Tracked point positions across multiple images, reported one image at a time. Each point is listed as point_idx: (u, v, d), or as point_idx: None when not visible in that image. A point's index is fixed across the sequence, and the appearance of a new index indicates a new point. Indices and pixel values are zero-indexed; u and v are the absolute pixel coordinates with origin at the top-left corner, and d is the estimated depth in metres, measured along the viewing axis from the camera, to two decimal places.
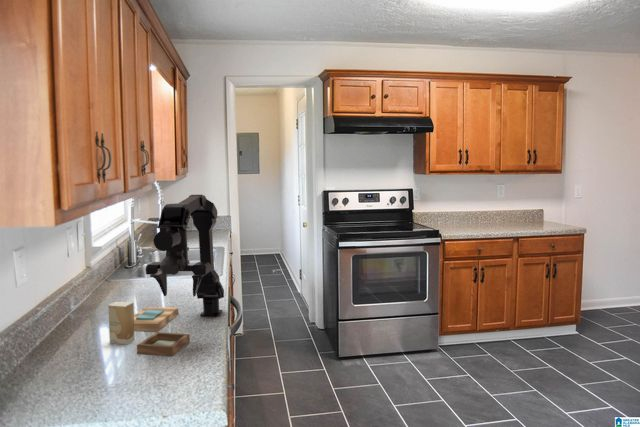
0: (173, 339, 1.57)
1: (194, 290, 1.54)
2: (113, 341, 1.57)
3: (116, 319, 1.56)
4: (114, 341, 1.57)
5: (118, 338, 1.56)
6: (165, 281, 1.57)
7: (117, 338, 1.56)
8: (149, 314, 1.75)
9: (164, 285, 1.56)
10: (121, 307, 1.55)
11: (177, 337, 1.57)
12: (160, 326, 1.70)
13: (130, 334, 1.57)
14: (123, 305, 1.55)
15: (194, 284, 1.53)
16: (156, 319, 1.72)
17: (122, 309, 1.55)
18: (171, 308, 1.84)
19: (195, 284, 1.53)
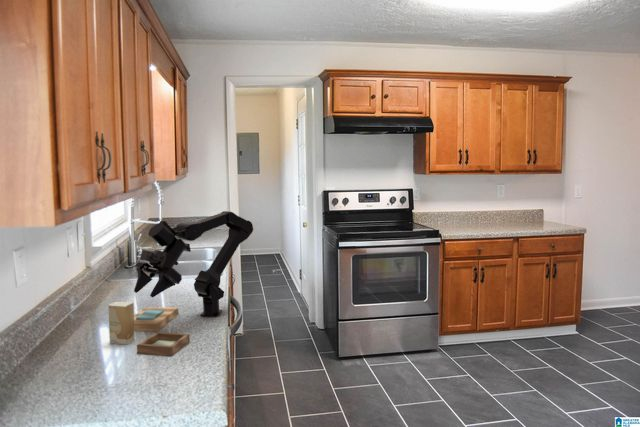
0: (173, 339, 1.57)
1: (153, 289, 1.60)
2: (113, 341, 1.57)
3: (116, 319, 1.56)
4: (114, 341, 1.57)
5: (118, 338, 1.56)
6: (144, 282, 1.69)
7: (117, 338, 1.56)
8: (149, 314, 1.75)
9: (140, 283, 1.67)
10: (121, 307, 1.55)
11: (177, 337, 1.57)
12: (160, 326, 1.70)
13: (130, 334, 1.57)
14: (123, 305, 1.55)
15: (157, 284, 1.61)
16: (156, 319, 1.72)
17: (122, 309, 1.55)
18: (171, 308, 1.84)
19: (157, 284, 1.61)
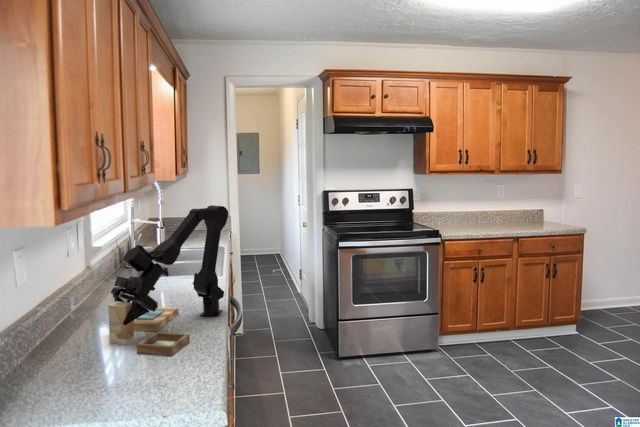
0: (173, 339, 1.57)
1: (126, 317, 1.54)
2: (113, 341, 1.57)
3: (116, 319, 1.56)
4: (114, 341, 1.57)
5: (118, 338, 1.56)
6: None
7: (117, 338, 1.56)
8: (149, 314, 1.75)
9: None
10: (121, 307, 1.55)
11: (177, 337, 1.57)
12: (160, 326, 1.70)
13: (130, 334, 1.57)
14: (123, 305, 1.55)
15: (130, 311, 1.55)
16: (156, 319, 1.72)
17: (122, 309, 1.55)
18: (171, 308, 1.84)
19: (130, 311, 1.55)
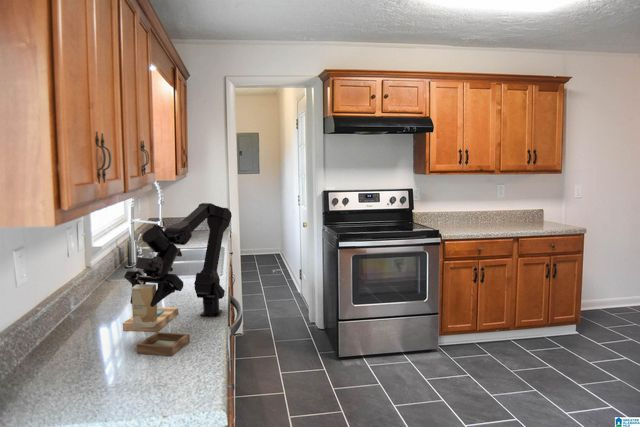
0: (173, 339, 1.57)
1: (153, 298, 1.51)
2: (137, 325, 1.51)
3: (141, 301, 1.51)
4: (139, 325, 1.51)
5: (143, 322, 1.51)
6: None
7: (142, 321, 1.51)
8: None
9: None
10: (147, 288, 1.50)
11: (177, 337, 1.57)
12: (160, 326, 1.70)
13: (155, 316, 1.53)
14: (148, 287, 1.51)
15: (156, 292, 1.51)
16: None
17: (148, 291, 1.50)
18: (171, 308, 1.84)
19: (157, 292, 1.51)
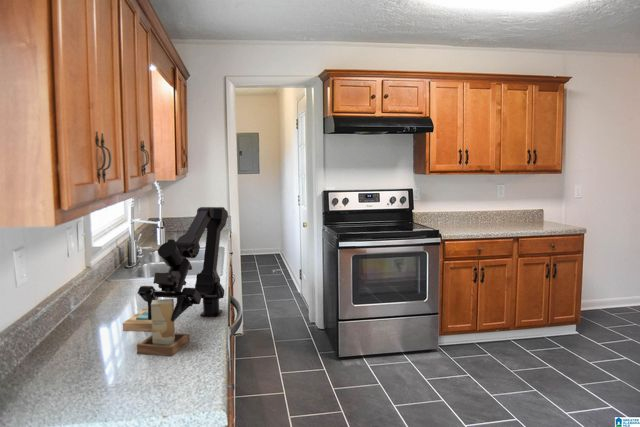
0: None
1: (174, 313, 1.50)
2: (157, 341, 1.50)
3: (161, 317, 1.50)
4: (158, 341, 1.51)
5: (163, 337, 1.51)
6: None
7: (162, 337, 1.51)
8: None
9: None
10: (167, 303, 1.50)
11: (177, 337, 1.57)
12: None
13: None
14: (168, 302, 1.51)
15: (176, 307, 1.51)
16: None
17: (168, 305, 1.50)
18: None
19: (177, 307, 1.51)
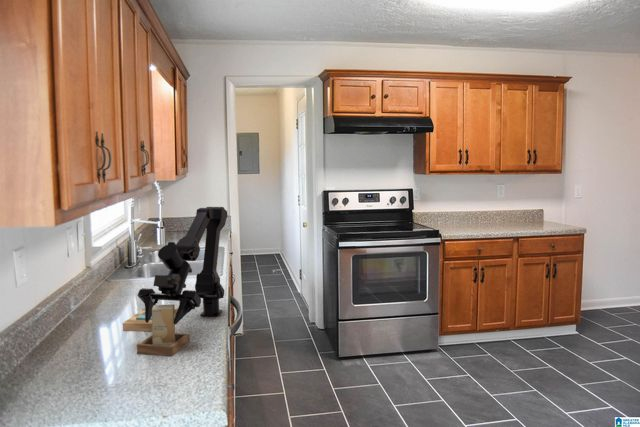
0: None
1: (176, 316, 1.50)
2: None
3: (162, 322, 1.50)
4: None
5: (163, 342, 1.51)
6: None
7: (162, 342, 1.51)
8: None
9: (149, 311, 1.54)
10: (168, 309, 1.50)
11: (177, 337, 1.57)
12: None
13: (174, 336, 1.53)
14: (168, 307, 1.51)
15: (179, 309, 1.51)
16: None
17: (169, 311, 1.50)
18: None
19: (180, 309, 1.51)
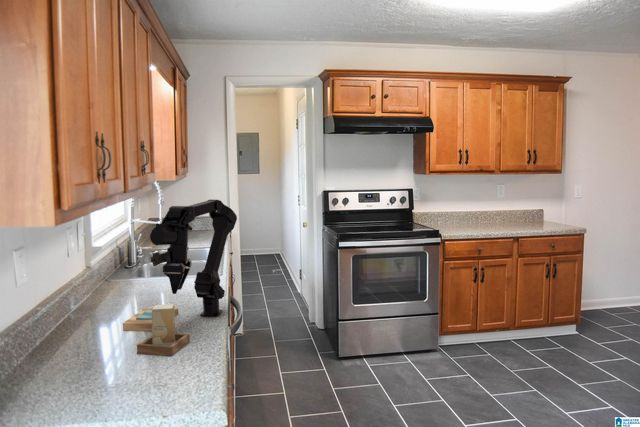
0: None
1: (171, 287, 1.63)
2: None
3: (162, 322, 1.50)
4: None
5: (163, 342, 1.51)
6: (182, 277, 1.73)
7: (162, 342, 1.51)
8: (149, 314, 1.75)
9: None
10: (168, 309, 1.50)
11: (177, 337, 1.57)
12: None
13: (174, 336, 1.53)
14: (168, 307, 1.51)
15: None
16: None
17: (169, 311, 1.50)
18: None
19: (170, 281, 1.62)
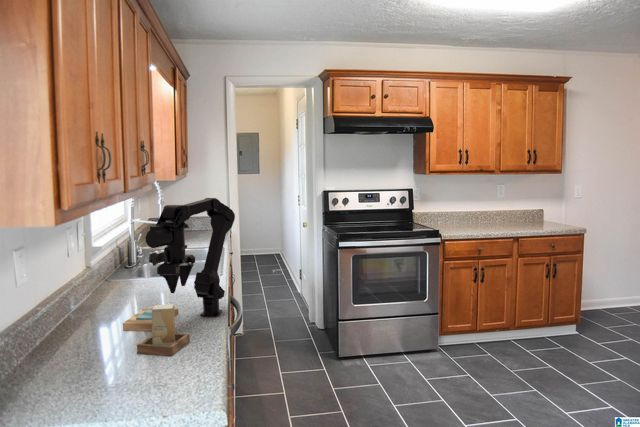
0: None
1: None
2: None
3: (162, 322, 1.50)
4: None
5: (163, 342, 1.51)
6: (185, 273, 1.74)
7: (162, 342, 1.51)
8: (149, 314, 1.75)
9: (182, 276, 1.74)
10: (168, 309, 1.50)
11: (177, 337, 1.57)
12: None
13: (174, 336, 1.53)
14: (168, 307, 1.51)
15: None
16: None
17: (169, 311, 1.50)
18: None
19: None
